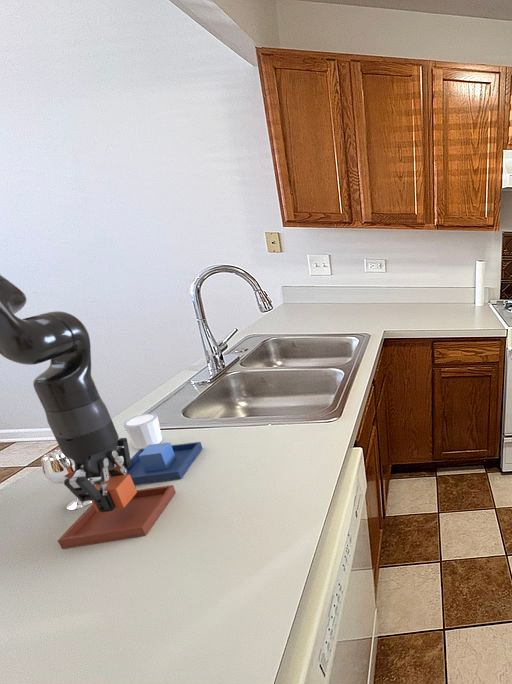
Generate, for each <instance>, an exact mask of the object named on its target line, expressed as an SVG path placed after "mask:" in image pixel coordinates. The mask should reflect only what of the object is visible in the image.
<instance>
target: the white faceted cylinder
mask: <svg viewBox="0 0 512 684" xmlns="http://www.w3.org/2000/svg"><path fill="white" fill-rule="evenodd" d="M122 426H123V428H124V430H125V431H126V434H127V435H128V437H129V439H130V441H131V442H132V445H133V446H134V448H135V449H136V450H140V449H144V448H146V447H147V446H148V445H151V444H160V443H162V442H163V440H162V439H163V436H162V431H161V426H160V421H159V417H158V415H157V414H156V413H153V412H152V413H151V412H150V413H142V414H139V415H136V416H133V417H130V418H128V419H127V420H125V421H124V422H123V423H122ZM161 441H162V442H161Z"/></svg>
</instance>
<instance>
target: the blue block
mask: <svg viewBox="0 0 512 684" xmlns="http://www.w3.org/2000/svg"><path fill="white" fill-rule="evenodd" d="M172 445H173V444H172V443H171V442H170V441H169V442H160V443H159V444H151V445H148V446H147V447H146V448H145V449H144V451H143V452H142V453H141V454H140V455H139V458H140V461H141V463H142V466H143V469H144V471H145V472H149V471H156V470H164V469H167V468H168V467H169V466H170V465H171V463H172V462H173V461H174V460H175V458H176V457H175V454H174V451H173V448H172Z"/></svg>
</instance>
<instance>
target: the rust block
mask: <svg viewBox="0 0 512 684" xmlns="http://www.w3.org/2000/svg"><path fill="white" fill-rule="evenodd" d="M109 479H110V480H109V481H108V482H107V487H108V493H110V495H111V497H112V499H113V502H114V504H115V506H116V507H115V508H114V509H120V508H124V507H125V506H126V505H127V504H128V503H129V501H130V500H131V499H132V498H133V497H134V495H135V494H136V493H137V491H136V490H137V488H136V485H134V483H133V481H132V478H131V476H130V474H126V475H119V476H111V477H110V476H109ZM95 488H96V489H97V490H100V486H99V485H95ZM91 501H92V503H91V504H93V505H94V507H95V509H96V512H99V510H98V508H97V506H96V504H95V502H94V500H91Z"/></svg>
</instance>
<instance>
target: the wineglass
mask: <svg viewBox="0 0 512 684" xmlns="http://www.w3.org/2000/svg"><path fill="white" fill-rule="evenodd" d="M40 461H41V469H42V473H43V476H44V477H45V479H46V480H47V481H48V482H50V483H51V484H55V485H65V484H64V481H65V479H67V478H72V477H73V476H74V474H75V473H76V470H75V463H74V461H73V460H72V459H70V458H68V457H65V456H64V455H63V453H62V451H61V449H60V448H58V449H55V450H52V451H50V452H48V453H46V454H44V455H43V456H42V457H41V459H40ZM91 504H93V503H92V501H91V500H89V501H84V502H81V501H80V500H79V499H78V498H77V497H76V498H75V499H73V500H71V501H70V502H69V503H68V504H67V505H66V509H67V511H74V510H79V509H82V508H85V507H87V506H90V505H91Z"/></svg>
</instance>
